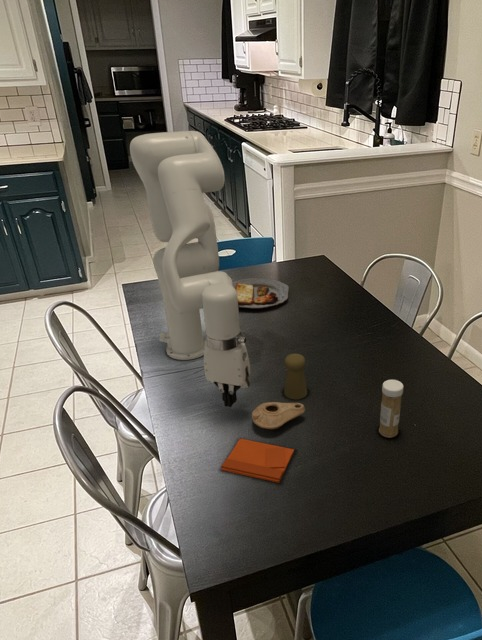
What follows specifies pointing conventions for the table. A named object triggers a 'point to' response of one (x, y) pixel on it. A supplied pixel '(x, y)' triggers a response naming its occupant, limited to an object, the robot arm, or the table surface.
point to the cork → (295, 377)
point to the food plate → (260, 292)
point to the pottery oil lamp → (276, 414)
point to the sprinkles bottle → (390, 408)
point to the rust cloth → (258, 460)
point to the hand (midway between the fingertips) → (230, 403)
